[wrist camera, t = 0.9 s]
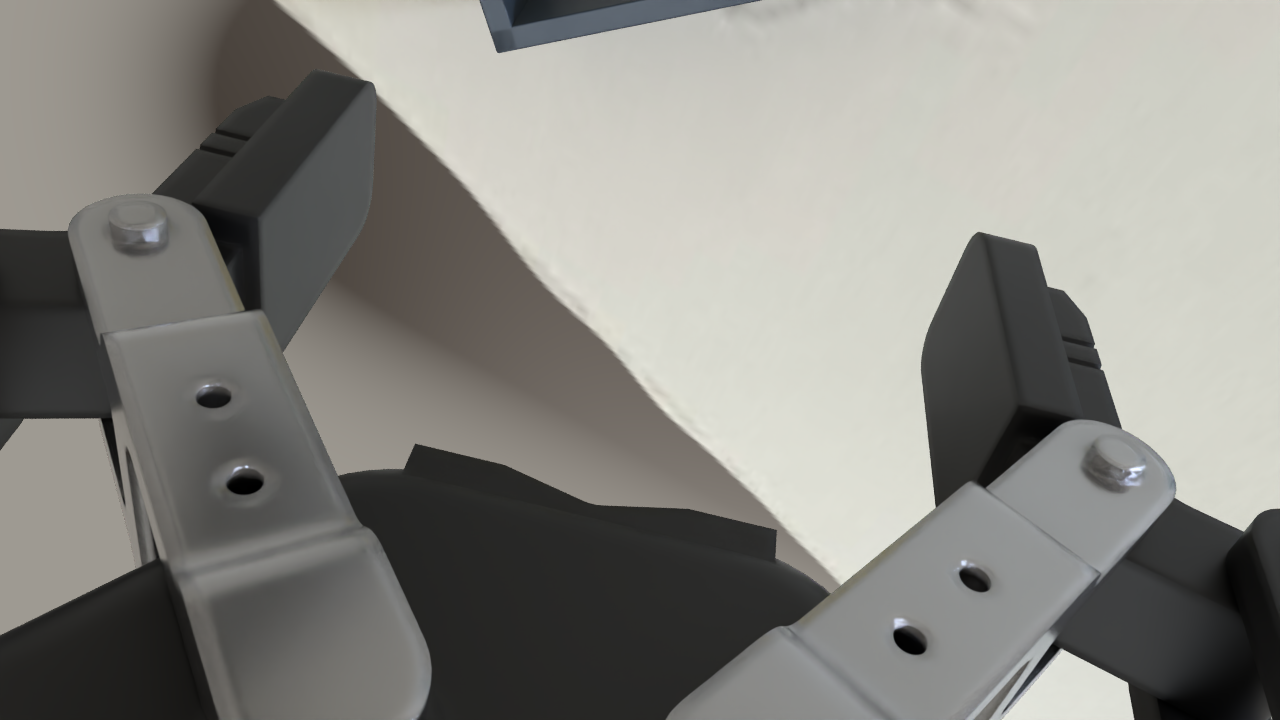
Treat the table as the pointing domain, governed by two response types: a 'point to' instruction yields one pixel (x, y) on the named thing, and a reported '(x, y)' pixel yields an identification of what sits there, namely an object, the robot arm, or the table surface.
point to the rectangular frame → (579, 17)
